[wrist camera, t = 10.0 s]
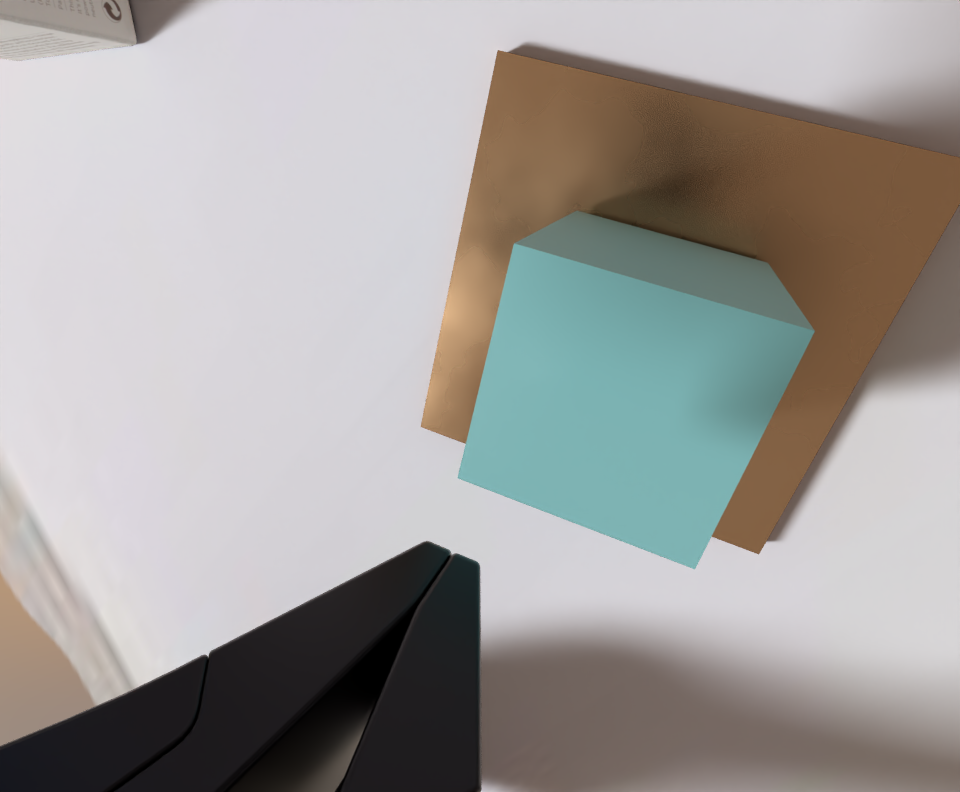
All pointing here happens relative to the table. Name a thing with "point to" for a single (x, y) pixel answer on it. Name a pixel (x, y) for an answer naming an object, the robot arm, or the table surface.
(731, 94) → the table surface
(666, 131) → the brown square base plate
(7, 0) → the skincare box
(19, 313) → the table surface
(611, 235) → the teal rectangular block
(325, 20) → the table surface
